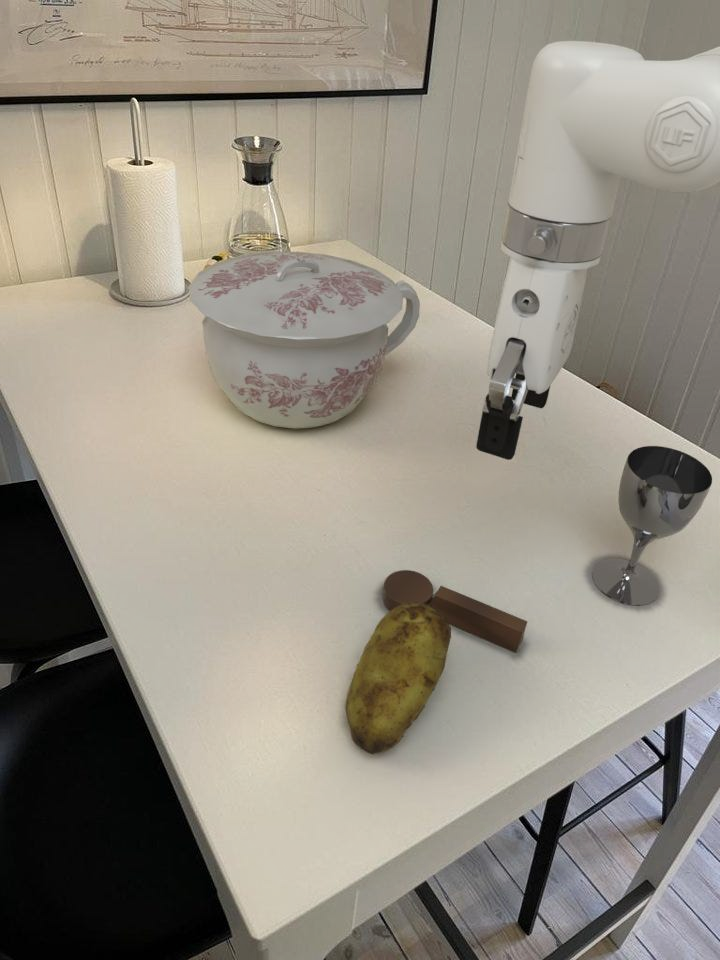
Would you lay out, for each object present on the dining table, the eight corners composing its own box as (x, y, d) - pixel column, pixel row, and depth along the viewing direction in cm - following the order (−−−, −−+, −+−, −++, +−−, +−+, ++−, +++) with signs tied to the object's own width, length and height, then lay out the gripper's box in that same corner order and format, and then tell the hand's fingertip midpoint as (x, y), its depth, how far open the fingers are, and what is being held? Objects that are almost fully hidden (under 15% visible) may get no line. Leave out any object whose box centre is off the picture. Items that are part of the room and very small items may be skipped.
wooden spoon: (526, 631, 74) (533, 610, 73) (510, 665, 71) (516, 644, 69) (395, 576, 79) (398, 554, 77) (373, 605, 76) (376, 584, 74)
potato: (305, 714, 65) (308, 652, 60) (402, 636, 73) (411, 576, 68) (377, 777, 60) (386, 716, 56) (471, 687, 68) (486, 626, 64)
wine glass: (663, 617, 77) (714, 502, 68) (585, 595, 79) (625, 481, 70) (663, 568, 83) (711, 457, 74) (591, 548, 85) (628, 438, 76)
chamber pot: (158, 428, 98) (142, 276, 86) (245, 342, 120) (242, 211, 107) (362, 478, 93) (377, 323, 80) (415, 379, 114) (433, 244, 102)
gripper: (575, 280, 49) (525, 491, 59) (626, 214, 61) (577, 397, 71) (467, 255, 51) (436, 462, 61) (537, 197, 64) (501, 376, 74)
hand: (512, 427), depth 66 cm, fingers open, 9 cm apart
